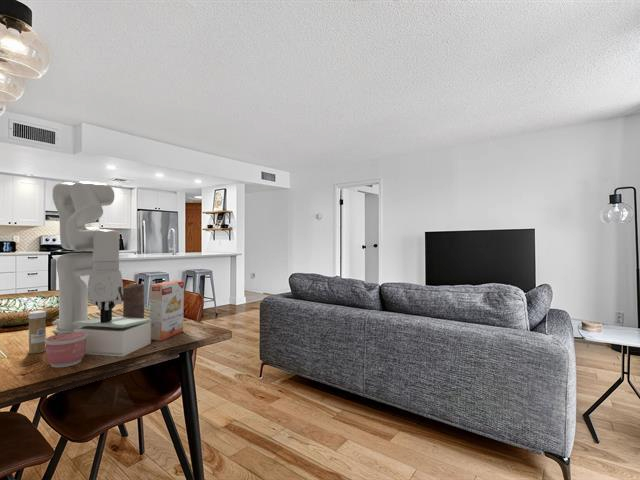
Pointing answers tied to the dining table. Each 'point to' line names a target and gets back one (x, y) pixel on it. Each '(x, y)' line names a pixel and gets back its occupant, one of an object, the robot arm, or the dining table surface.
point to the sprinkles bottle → (37, 331)
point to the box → (116, 339)
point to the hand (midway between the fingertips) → (106, 321)
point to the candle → (133, 301)
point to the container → (65, 349)
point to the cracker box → (166, 309)
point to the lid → (113, 322)
